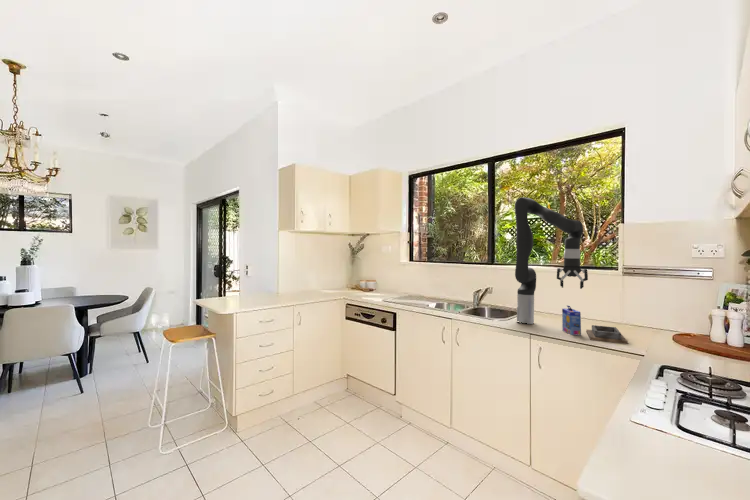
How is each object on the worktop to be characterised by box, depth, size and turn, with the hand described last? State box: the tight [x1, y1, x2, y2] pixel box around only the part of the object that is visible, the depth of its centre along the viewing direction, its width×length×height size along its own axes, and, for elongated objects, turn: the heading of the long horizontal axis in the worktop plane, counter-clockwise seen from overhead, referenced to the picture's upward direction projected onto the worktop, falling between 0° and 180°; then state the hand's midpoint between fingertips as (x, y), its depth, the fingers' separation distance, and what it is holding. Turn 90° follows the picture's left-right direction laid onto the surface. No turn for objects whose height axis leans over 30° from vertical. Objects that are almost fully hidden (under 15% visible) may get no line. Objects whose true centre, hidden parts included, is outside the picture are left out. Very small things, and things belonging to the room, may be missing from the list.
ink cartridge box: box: [561, 305, 582, 336], centre depth 178 cm, size 10×6×14 cm, turn 174°
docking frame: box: [585, 324, 629, 345], centre depth 170 cm, size 15×18×4 cm
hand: (571, 288), depth 178 cm, fingers open, 8 cm apart
